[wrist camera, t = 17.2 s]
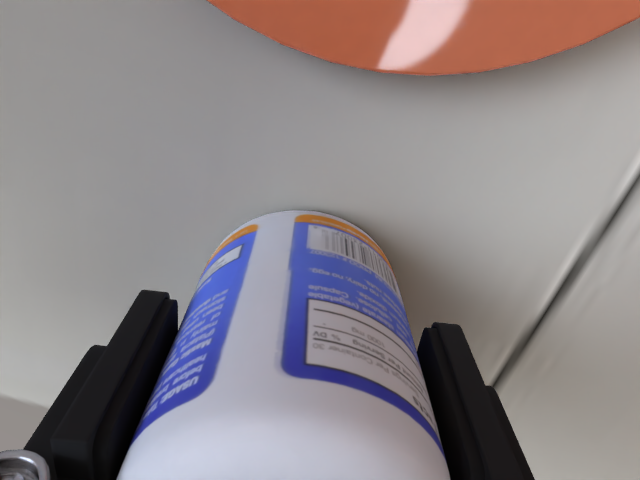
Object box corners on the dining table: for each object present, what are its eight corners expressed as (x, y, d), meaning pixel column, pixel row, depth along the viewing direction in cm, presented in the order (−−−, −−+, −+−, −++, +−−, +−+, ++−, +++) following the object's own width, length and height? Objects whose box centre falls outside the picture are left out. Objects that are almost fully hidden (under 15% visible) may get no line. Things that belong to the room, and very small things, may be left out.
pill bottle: (237, 375, 15) (122, 897, 6) (176, 224, 13) (-146, 738, 4) (409, 346, 14) (539, 877, 6) (380, 182, 12) (530, 675, 3)
